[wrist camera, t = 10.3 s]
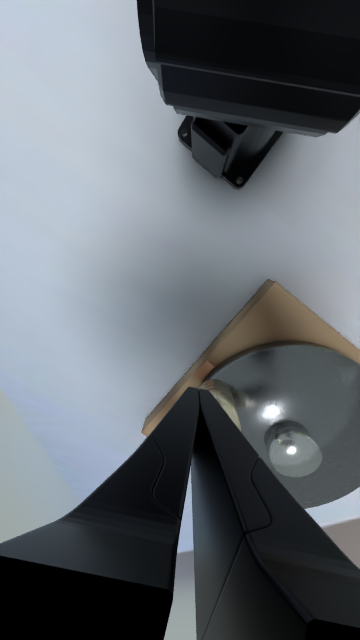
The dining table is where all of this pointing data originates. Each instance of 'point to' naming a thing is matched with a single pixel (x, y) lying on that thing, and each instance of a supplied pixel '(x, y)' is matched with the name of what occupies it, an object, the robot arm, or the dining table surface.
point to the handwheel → (296, 414)
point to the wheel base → (257, 339)
